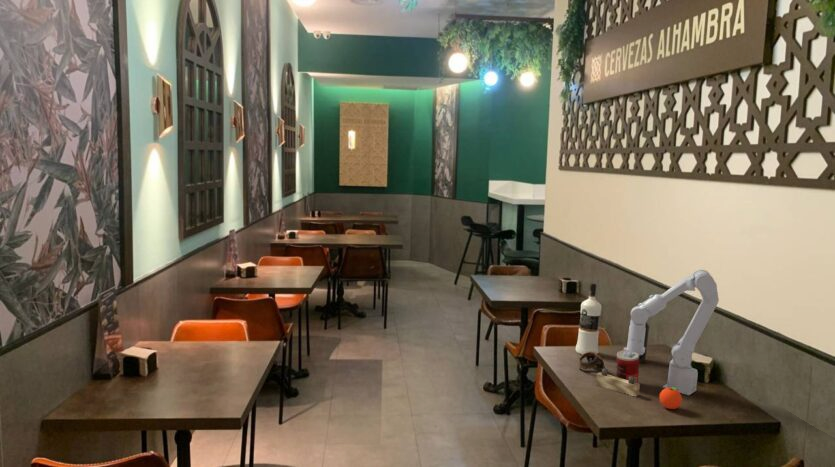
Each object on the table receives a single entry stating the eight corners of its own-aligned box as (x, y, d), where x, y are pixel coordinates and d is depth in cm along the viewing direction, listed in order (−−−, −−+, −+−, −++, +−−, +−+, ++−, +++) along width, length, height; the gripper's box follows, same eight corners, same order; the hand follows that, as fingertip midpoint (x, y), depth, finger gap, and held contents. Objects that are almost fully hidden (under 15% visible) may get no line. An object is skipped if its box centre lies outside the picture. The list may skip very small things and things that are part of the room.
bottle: (635, 356, 263) (640, 310, 261) (648, 361, 257) (654, 314, 255) (624, 358, 260) (629, 311, 257) (637, 363, 254) (643, 315, 252)
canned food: (640, 379, 230) (641, 351, 228) (635, 389, 224) (636, 361, 221) (619, 375, 234) (619, 348, 231) (613, 384, 228) (614, 357, 225)
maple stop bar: (638, 395, 218) (640, 378, 218) (635, 397, 216) (637, 380, 215) (598, 382, 228) (600, 366, 228) (595, 384, 226) (596, 368, 225)
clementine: (666, 402, 213) (669, 382, 213) (686, 409, 208) (688, 388, 207) (654, 406, 208) (656, 386, 208) (673, 414, 203) (676, 393, 202)
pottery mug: (609, 376, 237) (602, 359, 235) (585, 384, 239) (578, 367, 236) (602, 359, 248) (596, 342, 246) (579, 366, 250) (572, 350, 248)
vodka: (602, 355, 261) (609, 285, 258) (584, 357, 258) (591, 286, 254) (588, 349, 270) (595, 281, 266) (570, 350, 266) (577, 281, 262)
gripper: (633, 333, 238) (629, 367, 240) (617, 339, 227) (613, 375, 229) (652, 337, 234) (647, 372, 235) (636, 344, 223) (631, 381, 225)
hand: (632, 374), depth 232 cm, fingers closed, pressing on canned food
